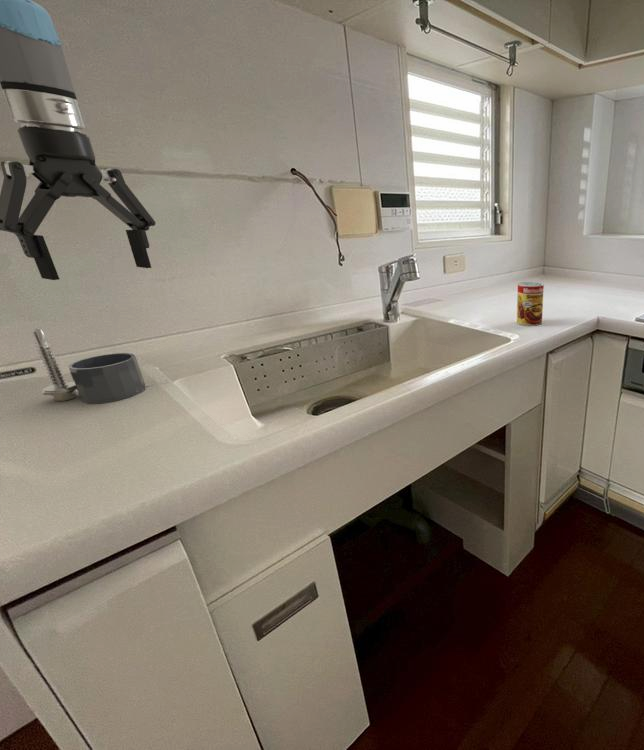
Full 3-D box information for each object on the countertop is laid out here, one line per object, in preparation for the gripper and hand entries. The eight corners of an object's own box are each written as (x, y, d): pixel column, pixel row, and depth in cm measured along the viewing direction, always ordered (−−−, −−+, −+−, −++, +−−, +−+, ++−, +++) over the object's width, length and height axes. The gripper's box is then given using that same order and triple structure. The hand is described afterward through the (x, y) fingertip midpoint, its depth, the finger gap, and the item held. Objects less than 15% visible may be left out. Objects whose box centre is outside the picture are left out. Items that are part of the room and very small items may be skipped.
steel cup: (69, 400, 72) (54, 366, 69) (124, 382, 80) (112, 351, 77) (104, 406, 70) (90, 371, 67) (157, 387, 77) (146, 355, 75)
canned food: (526, 327, 121) (528, 286, 117) (512, 321, 127) (512, 283, 123) (547, 323, 125) (549, 284, 120) (531, 318, 131) (533, 281, 127)
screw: (87, 390, 76) (80, 400, 72) (51, 396, 73) (42, 406, 69) (60, 323, 71) (50, 329, 67) (20, 327, 68) (8, 333, 65)
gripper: (-58, 112, 48) (17, 288, 57) (158, 141, 70) (189, 265, 79) (-95, 111, 50) (-17, 282, 59) (127, 140, 72) (160, 261, 81)
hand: (101, 272), depth 69 cm, fingers open, 13 cm apart
